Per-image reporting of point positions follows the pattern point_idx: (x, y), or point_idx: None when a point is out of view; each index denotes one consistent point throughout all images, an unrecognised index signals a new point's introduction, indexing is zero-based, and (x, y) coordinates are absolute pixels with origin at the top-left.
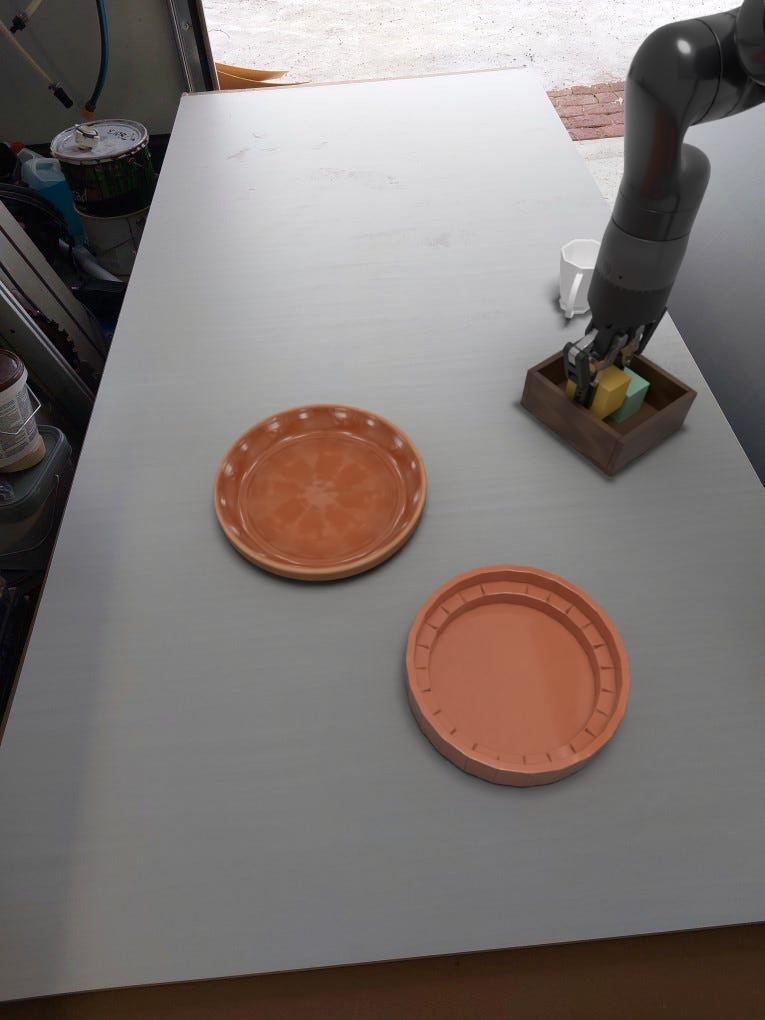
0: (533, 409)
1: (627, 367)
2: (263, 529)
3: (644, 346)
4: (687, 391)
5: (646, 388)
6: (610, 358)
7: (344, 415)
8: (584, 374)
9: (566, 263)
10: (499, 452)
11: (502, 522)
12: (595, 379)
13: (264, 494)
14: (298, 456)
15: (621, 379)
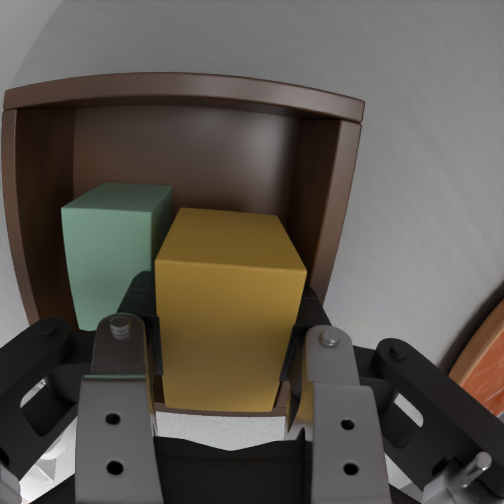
0: None
1: (56, 284)
2: None
3: (25, 339)
4: (16, 110)
5: (75, 203)
6: (371, 446)
7: None
8: (460, 400)
9: (51, 475)
10: (390, 297)
11: (487, 203)
12: (349, 354)
13: None
14: (478, 394)
15: (202, 283)
